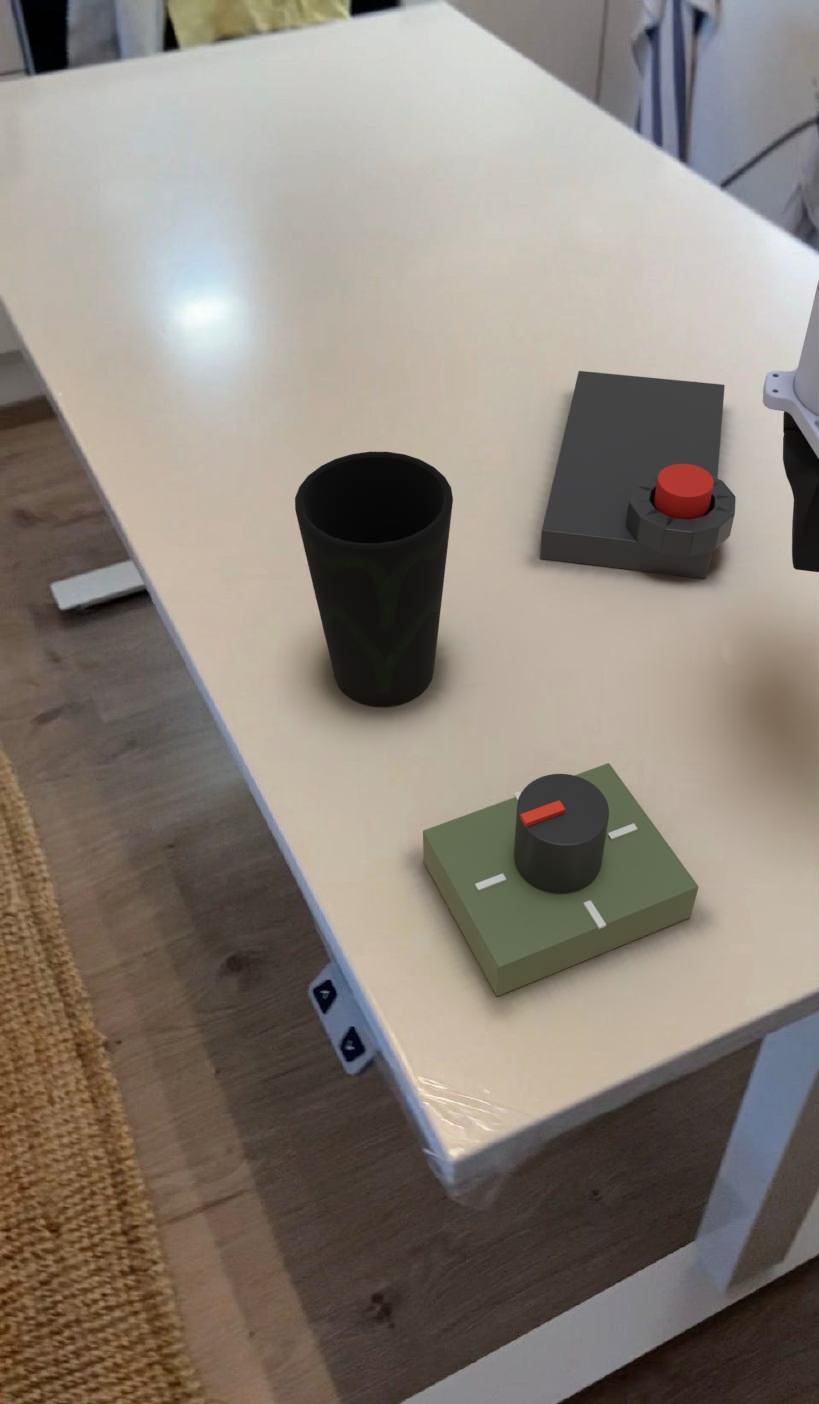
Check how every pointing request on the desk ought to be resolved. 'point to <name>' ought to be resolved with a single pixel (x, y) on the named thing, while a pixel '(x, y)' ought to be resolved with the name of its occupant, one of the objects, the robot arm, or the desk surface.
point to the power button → (683, 491)
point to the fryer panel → (555, 926)
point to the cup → (377, 569)
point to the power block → (635, 475)
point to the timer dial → (560, 832)
